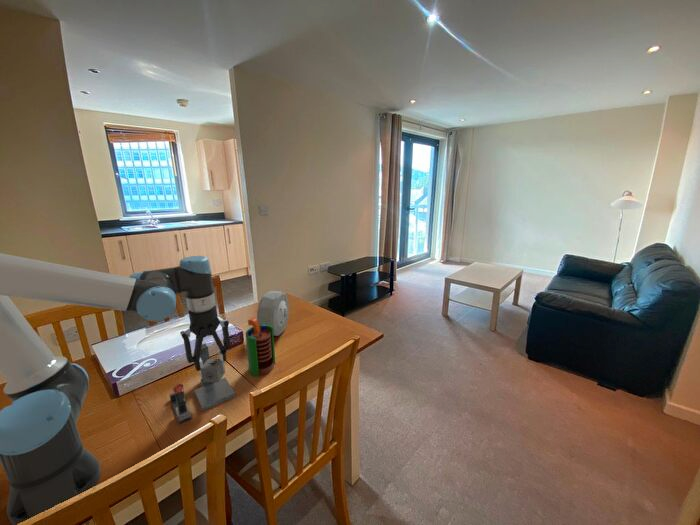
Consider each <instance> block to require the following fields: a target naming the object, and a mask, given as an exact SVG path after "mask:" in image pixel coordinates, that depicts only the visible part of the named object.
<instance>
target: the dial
mask: <svg viewBox="0 0 700 525" xmlns="http://www.w3.org/2000/svg"><path fill="white" fill-rule="evenodd" d="M289 314H290V305H289V298H288V296H287V295H286V294H285V292H284V291H281V290H279V291H278V290H268V291H266V292H265V293H264V294H263V295H262V296H261V298H260V300H259V304H258V307H257V310H256V319H257V320H258V322H259V325H270V326H272V327H273V335H274V337H275V336H276V337H279V336H280V335H281V334H282V333H283V332H284V330H285V328H286V327H287V323H288V320H289Z"/></svg>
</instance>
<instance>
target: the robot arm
mask: <svg viewBox="0 0 700 525" xmlns="http://www.w3.org/2000/svg"><path fill="white" fill-rule="evenodd" d="M210 265H211V264H210V260H209V258H208V257H206V256H204V255H192V256H191V255H190V256H188V257H187V256H186V257H183V258H181V259H180V260H179V266H173V267H165V268H161V269H151V270H143V271H140V272H134V273H132V274H130V276H124V275H119V274H113V273H108V272H104V271H103V272H102V271H97V270H92V269H87V268H82V267H81V268H80V267H75V266H71V265H65V264H60V263H54V262H49V261H45V260H37V259H35V258H34V259H32V258H27V257H22V256H17V255H13V254H8V253H7V254H6V253H1V252H0V374H1V375H2V376H3V378H5V380H6V383H5V386H4V387H3V390H2V391H3V393H4V394H5V395H6V396H7V398H9V400H10V401H11V404H10V405H8V406H5V407H3V408H2V409H0V465H1V468H2V470H3V472H4V474H5V476H6V479H7V481H8V483H9V493H8V500H7V505H6V514H7V517H8V521H9V522H10V524H11V525H17V524H18V523H20V522H23V521H25V520H27V519H29V518H31V517H33V516H35V515H37V514H39V513H41V512H44V511H45V510H48V509H50V508H52V507H54V506H55V505H57V504H59V503H62V502H64V501H66V500H68V499H70V498H72V497H74V496H76V495H78V494H80V493H82V492H84V491H86V490H88V489H90V488H92V487H93V486H95V485H96V486H97V483H98V482H99V480H100V478H101V474H102V473H101V472H102V469H101V465H100V461H99V460H98V459H97V457H96V456H94V454H92V453H91V452H90V451H89V450H88V449H87V448H85V447H84V446H83V442H82V439H81V435H80V433H79V429H78V419H79V417H80V413H81V411H82V407H83V404H84V401H85V399H86V396H87V394H88V391H89V387H90V386H89V385H90V383H89V382H90V379H89V375H88V372H87V371H86V369H85V368H84V367H82V366H81V365H79V364H78V363H72V362H70V361H69V359H68V358H66V357H65V356H61V355H60V356H59V355H58V356H57V355H56V356H55V355H54V354H53V352H52V351H51V350H50V348H49V347H48V346H47V345H46V343H45V342H44V341H43V339H42V338H41V337H40V336H39V334H38V333H37V331H35V329H34V328H33V327H32V325H31V324H30V322H29V321H28V320H27V319H26V317H25V316H24V315H23V314H22V312H21V311H20V310H19V308H18V307H17V306H16V304H15V303H14V302H13V300H12V299H11V298H10V297H14V298H21V299H29V300H37V301H45V302H53V303H61V304H68V305H69V304H70V305H75V306H76V305H77V306H84V307H91V308H98V309H106V310H107V309H108V310H115V311H116V310H117V311H120V312H121V311H124V312H130V313H135V314H138V315H139V316H140V317H142V318H143V319H144V320H147V321H149V322H150V321H151V322H159V321H163V320H165V319H167V318H169V317H170V316H171V315H172V314H173V313H174V311H175V310H176V306H177V305H176V304H177V295H178V294H182V293H184V294H185V298H186V299H185V300H186V305H187V306H186V307H187V309H188V318H189V322H190V325H189V328H188V329H186V330H185V331H184V330H181V331H179V332H180V333H179V334H180V336H181V338H182V339H183V343H184V350H185V357H186V360H187V363H188V364H192V363H194V368H195V370H196V371H197V372H199V375H200V379H201V378H202V374H201V368H203V362H202V360H201V358H200V354H201V347H202V344H203V342H204V338H206V337H208V336H210V337H211V336H212V338H213V340H214V341H215V343H216V345H217V347H218V349H219V350H217V359H220V361H223V360H224V362H223V368H224V367H225V362H226V361H227V351H228V350H231V349H232V345H231V339H230V338H231V337H230V333H229V325H230V322H229V321H228V319H227V318H223V319H219V317H218V310H217V306H216V297H215V290H214V283H213V276H212V270H211V269H212V268H211V266H210ZM219 326H220V327H221V330H222V336H223V343H224V345H223V343H222V341H221V339H220V337H219V335H218V333H217V329H218V327H219ZM191 334H194V335H195V343H194V348H193V349H194V351H193V354H192V347H191V340H190V338H191ZM224 372H225V373H226V369H224Z"/></svg>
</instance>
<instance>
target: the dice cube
mask: <svg viewBox="0 0 700 525" xmlns="http://www.w3.org/2000/svg"><path fill="white" fill-rule="evenodd" d="M223 362H224V363H225V361H224V360H223V361H220V359H218V358H210V359H207V361H206V362H205V363H204V365H203V368H201V374H202V380H203V382H219V381H220V380H221V379H223V378H224V377H223V376H224V374H226V371H225V372H224V369H225V366H224V368H223ZM225 370H226V369H225Z"/></svg>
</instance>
